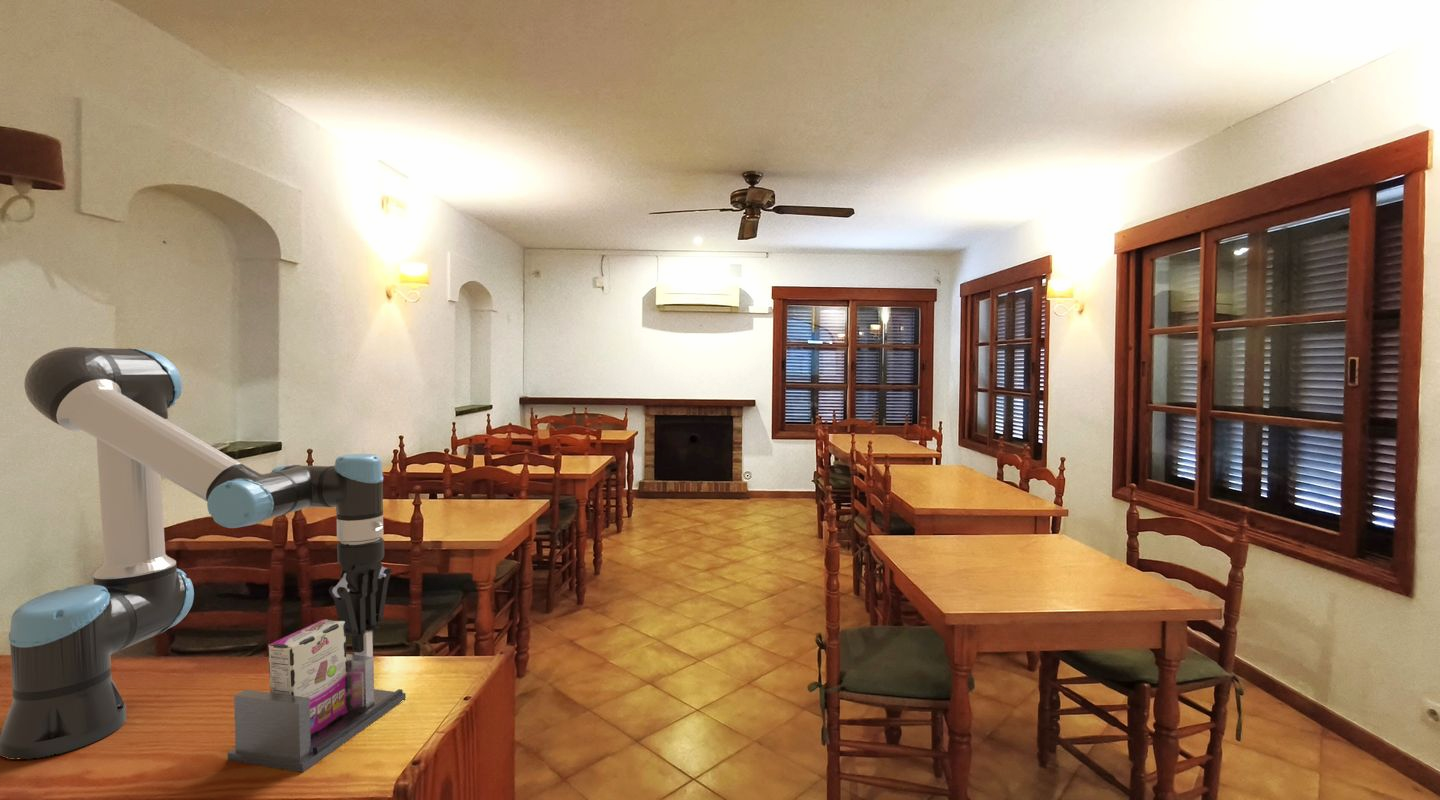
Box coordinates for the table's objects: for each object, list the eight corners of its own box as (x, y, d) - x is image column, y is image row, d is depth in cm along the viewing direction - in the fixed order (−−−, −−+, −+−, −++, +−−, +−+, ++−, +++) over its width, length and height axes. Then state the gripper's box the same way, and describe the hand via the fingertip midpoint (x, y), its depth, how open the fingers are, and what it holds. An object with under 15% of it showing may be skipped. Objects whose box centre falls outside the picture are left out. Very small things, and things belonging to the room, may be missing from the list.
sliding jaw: (311, 706, 117) (310, 656, 117) (345, 685, 125) (344, 638, 125) (365, 713, 115) (364, 662, 115) (396, 691, 123) (395, 644, 122)
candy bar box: (325, 709, 117) (323, 617, 116) (349, 712, 116) (347, 620, 115) (268, 744, 106) (266, 643, 105) (294, 748, 105) (292, 646, 104)
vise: (227, 760, 104) (225, 696, 103) (341, 691, 126) (340, 638, 126) (303, 772, 101) (301, 706, 100) (405, 699, 123) (404, 645, 123)
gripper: (350, 550, 114) (353, 685, 115) (403, 532, 126) (405, 653, 127) (314, 547, 115) (317, 680, 116) (370, 530, 128) (372, 650, 129)
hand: (363, 666), depth 122 cm, fingers closed
